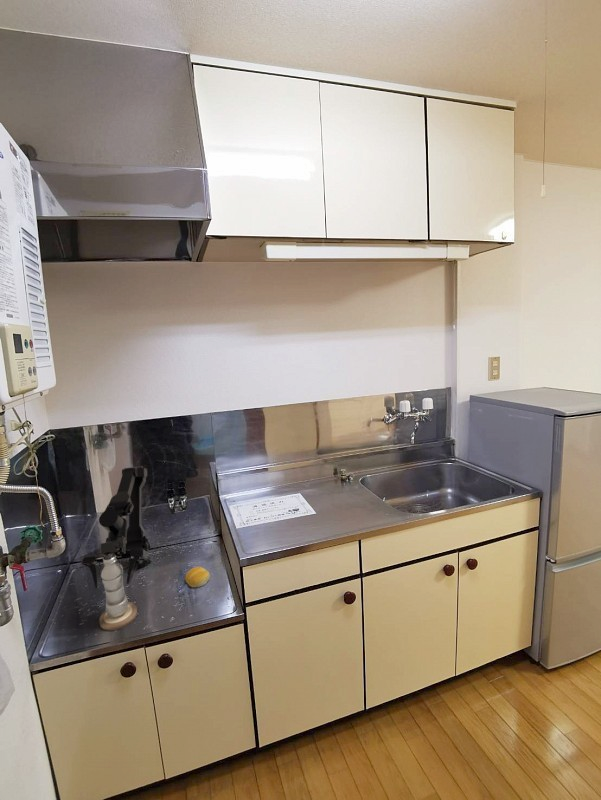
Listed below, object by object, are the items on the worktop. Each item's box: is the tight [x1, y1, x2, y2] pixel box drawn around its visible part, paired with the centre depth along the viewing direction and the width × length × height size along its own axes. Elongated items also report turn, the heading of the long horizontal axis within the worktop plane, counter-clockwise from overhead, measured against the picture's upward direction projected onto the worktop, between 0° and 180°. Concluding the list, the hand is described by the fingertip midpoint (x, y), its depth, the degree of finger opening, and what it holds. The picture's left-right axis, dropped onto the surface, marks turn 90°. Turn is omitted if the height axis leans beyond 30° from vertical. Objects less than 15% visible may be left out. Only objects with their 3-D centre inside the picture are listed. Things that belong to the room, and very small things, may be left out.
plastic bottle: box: [100, 553, 129, 618], centre depth 124 cm, size 6×7×20 cm
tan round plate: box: [98, 601, 138, 631], centre depth 126 cm, size 11×11×2 cm
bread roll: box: [184, 566, 211, 588], centre depth 143 cm, size 8×9×4 cm
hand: (112, 586), depth 123 cm, fingers open, 9 cm apart
